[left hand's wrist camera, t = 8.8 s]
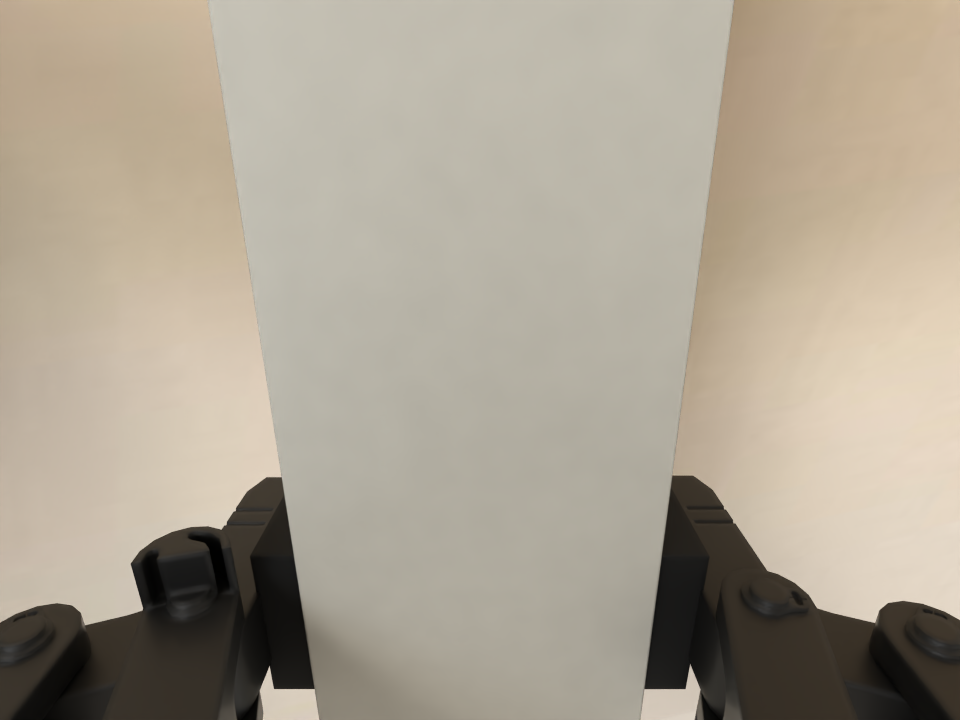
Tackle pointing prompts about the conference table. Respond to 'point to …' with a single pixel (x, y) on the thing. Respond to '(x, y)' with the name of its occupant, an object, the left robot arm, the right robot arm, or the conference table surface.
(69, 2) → the conference table surface
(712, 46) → the bar
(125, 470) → the conference table surface
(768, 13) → the conference table surface
